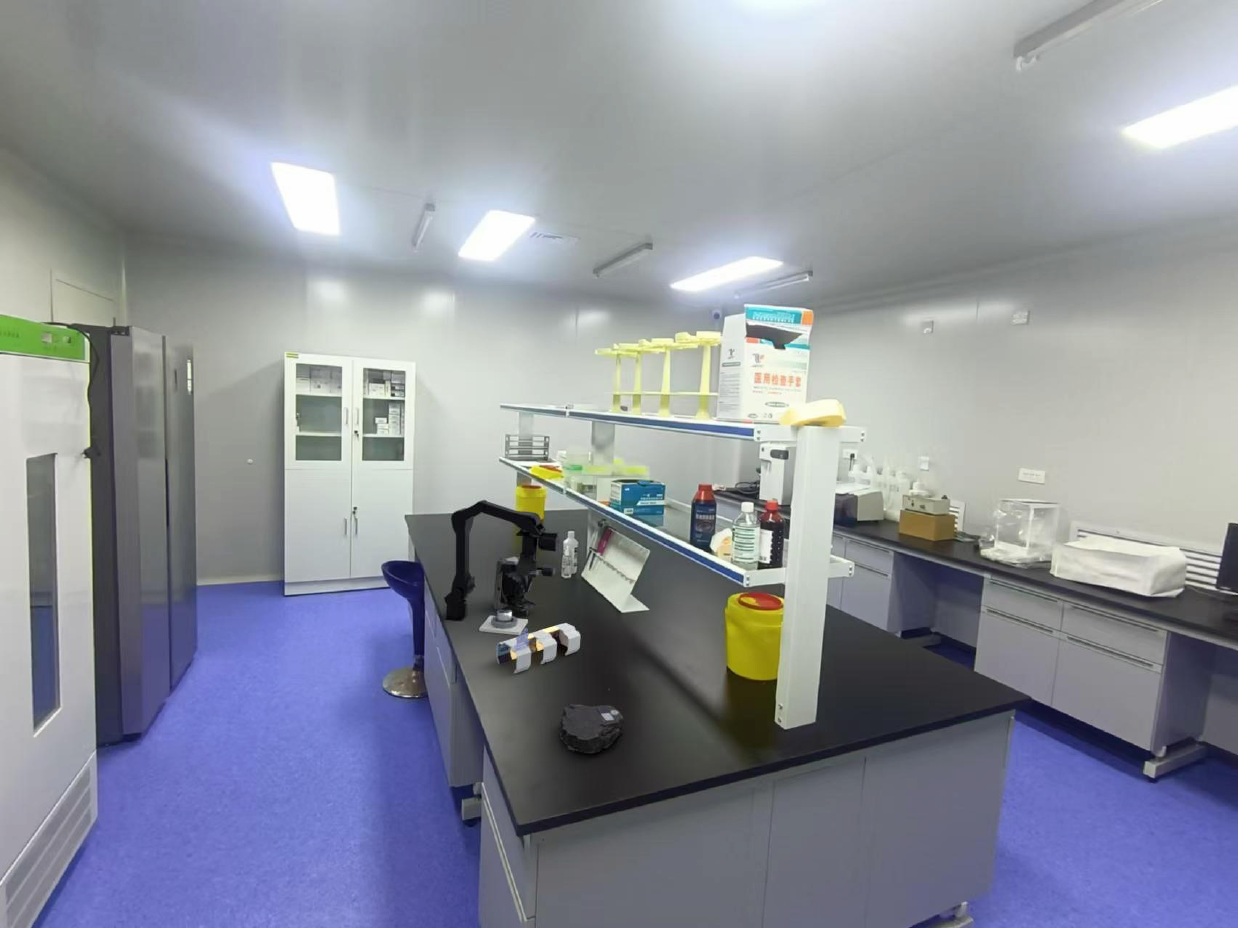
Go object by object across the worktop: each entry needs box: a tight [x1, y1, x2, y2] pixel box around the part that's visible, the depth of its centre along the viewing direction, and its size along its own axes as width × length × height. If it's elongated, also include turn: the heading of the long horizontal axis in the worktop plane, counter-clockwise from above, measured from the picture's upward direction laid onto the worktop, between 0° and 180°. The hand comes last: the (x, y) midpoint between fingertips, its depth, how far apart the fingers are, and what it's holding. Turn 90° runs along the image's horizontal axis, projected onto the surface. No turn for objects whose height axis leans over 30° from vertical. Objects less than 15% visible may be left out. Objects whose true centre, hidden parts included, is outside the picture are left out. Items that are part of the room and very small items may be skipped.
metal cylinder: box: [496, 607, 513, 623], centre depth 196 cm, size 5×5×5 cm
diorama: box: [495, 622, 581, 675], centre depth 174 cm, size 25×10×13 cm, turn 137°
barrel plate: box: [479, 615, 529, 636], centre depth 197 cm, size 14×12×2 cm
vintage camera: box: [493, 555, 538, 616], centre depth 211 cm, size 10×15×20 cm, turn 53°
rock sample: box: [558, 703, 625, 754], centre depth 135 cm, size 18×16×5 cm
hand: (526, 592), depth 197 cm, fingers closed
